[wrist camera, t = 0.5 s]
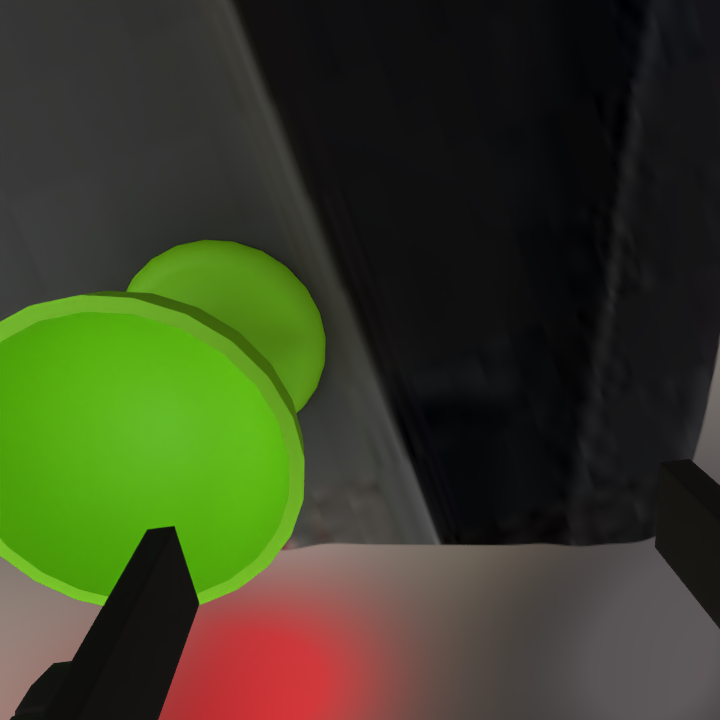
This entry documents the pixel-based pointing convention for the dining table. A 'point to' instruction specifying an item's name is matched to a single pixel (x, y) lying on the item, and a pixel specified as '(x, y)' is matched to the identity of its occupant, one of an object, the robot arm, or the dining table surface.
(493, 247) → the dining table surface
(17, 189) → the dining table surface
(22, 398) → the wineglass
